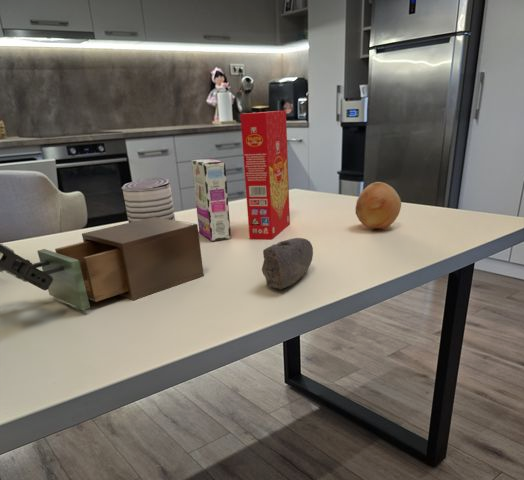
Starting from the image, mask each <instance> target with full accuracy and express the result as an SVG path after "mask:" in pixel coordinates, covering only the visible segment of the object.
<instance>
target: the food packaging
mask: <svg viewBox="0 0 524 480" xmlns="http://www.w3.org/2000/svg"><path fill="white" fill-rule="evenodd" d="M239 116H240V128H241V129H240V130H241V142H242V157H243V168H244V182H245V195H246V210H247V211H246V212H247V223H248V237H249V238H248V239H249V240H273V239H274V238H276V236H278V235H279V234H280V233H281V232H283V231H284V230H285V229H286V228H287V227H289V225H291V216H290V215H291V213H290V188H289V186H290V185H289V161H288V159H289V157H288V132H287V130H288V129H287V127H288V126H287V110H272V111H260V112H249V113H240V114H239Z"/></svg>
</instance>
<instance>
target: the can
mask: <svg viewBox="0 0 524 480" xmlns="http://www.w3.org/2000/svg"><path fill="white" fill-rule="evenodd" d="M170 181H171V178H164V177H151V178H144V179H138V180H134V181H131V182H127V183H125V184H123V186H122V187H121V189H122V194H123V200H124V205H125V211H126V216H127V221H128V222H127V223H130V222H135V221H139V220H143V219H148V218H152V217H157V218H163V219H169V220H175V221H176V217H175V209H174V202H173V194H172V187H171V183H169V182H170Z"/></svg>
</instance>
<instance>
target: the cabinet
mask: <svg viewBox="0 0 524 480" xmlns="http://www.w3.org/2000/svg"><path fill="white" fill-rule="evenodd" d="M81 237H82V242H86V241H90V240H92V241H96V242H100V243H103V244H107V245H111V246H115V247H119V248H120V250H121V255H122V260H123V265H124V270H125V275H126V280H127V285H128V290H129V291H127V292H124V293H121V294H118V295H117V296H120V297H122V298H125V299H128V300H131V301H135V300H138V299H141V298H144V297H147V296H150V295H153V294H156V293H158V292H161V291H165V290H167V289H170V288H173V287H176V286H179V285H182V284H184V283H187V282H190V281H192V280H196V279H200V278H202V277H204V276H205V275H204V268H203V267H204V266H203V259H202V258H203V257H202V251H201V250H202V249H201V241H200V232H199V225H198V223H193V222H186V221H181V220H176V219H175V220H169V219H163V218H157V217H152V218H148V219H143V220H139V221H135V222H130V223H129V222H126V223H122V224H118V225H114V226H109V227H104V228H100V229H96V230H92V231H91V230H90V231H87V232H83V233H81Z"/></svg>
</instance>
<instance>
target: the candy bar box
mask: <svg viewBox="0 0 524 480" xmlns="http://www.w3.org/2000/svg"><path fill="white" fill-rule="evenodd" d="M190 162H191V169H192V170H191V171H192V178H193V188H194V189H193V190H194V197H195V206H196V207H195V208H196V215H197V217H196V218H197V225H198V233H199V234H201V235H202V236H204V237H205V238H207V239H208V240H210V241H211V242H218V241H225V240H230V239H232V231H231V221H230V208H229V194H228V180H227V171H226V169H227V168H226V161H224V160H219V159H218V160H217V159H212V158H205V159H204V158H203V159H193V160H190Z"/></svg>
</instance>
